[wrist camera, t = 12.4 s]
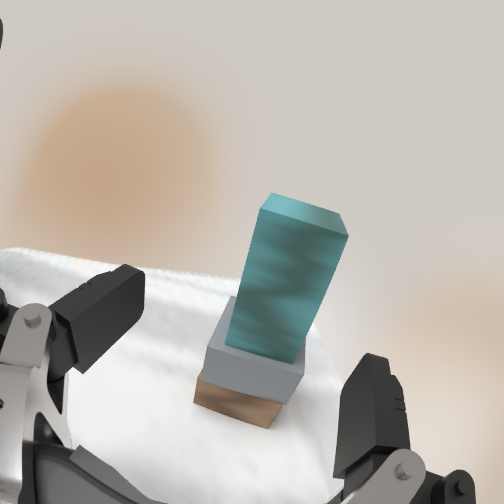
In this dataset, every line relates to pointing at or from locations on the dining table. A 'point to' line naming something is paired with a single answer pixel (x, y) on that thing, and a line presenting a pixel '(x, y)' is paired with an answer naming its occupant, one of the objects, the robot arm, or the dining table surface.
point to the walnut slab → (236, 404)
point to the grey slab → (249, 367)
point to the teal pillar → (285, 277)
